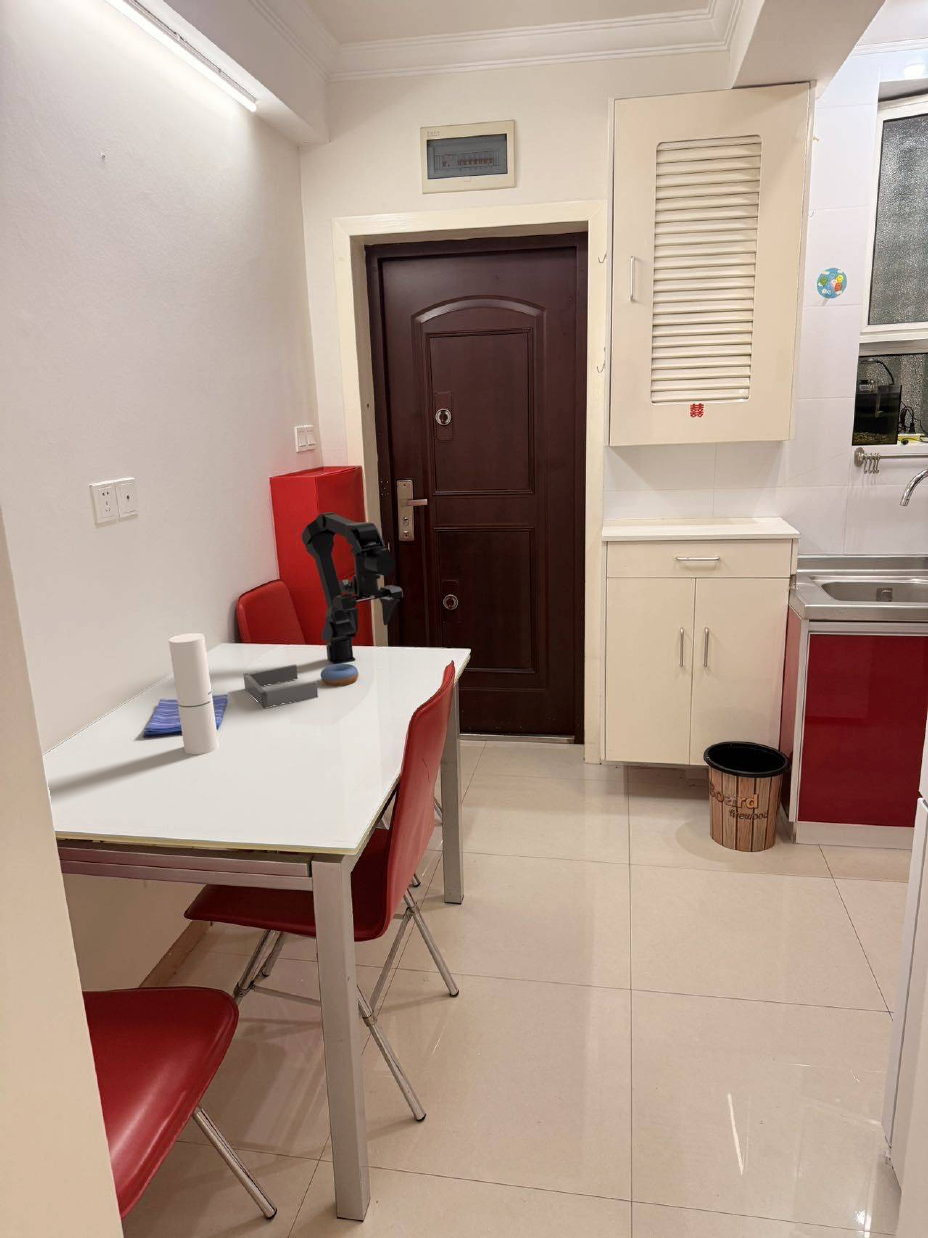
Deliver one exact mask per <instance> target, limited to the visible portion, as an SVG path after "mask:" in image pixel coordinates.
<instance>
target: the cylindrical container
mask: <svg viewBox="0 0 928 1238" xmlns="http://www.w3.org/2000/svg"><path fill="white" fill-rule="evenodd" d="M205 639H206V638H205V635H204V634H203V633H199V632H198V633H195V632H194V633H190V632H188V633H181V634H178V635H175V636H174V635H173V636H172V637H170V638H169V639H168V643H169V644H168V645H169V650H170V657H171V664H172V673H173V679H174V686H175V692H176V700H177V701H178V708H179V715H180V722H181V728H182V734H181V735H182V741H183V747H184V752H185V753H186V754H188V753H189V754H188V755H202V753H204V754H208V753H211V752H213V751H215V750H217V749H218V748H219V746H220V745H219V737H218V730H217V729H216V722H215V714H214V707H213V699H212V696H213V692H212V687H211V679H210V678H211V677H210V671H209V664H208V656H207V646H206V640H205ZM210 751H211V752H210Z"/></svg>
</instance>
